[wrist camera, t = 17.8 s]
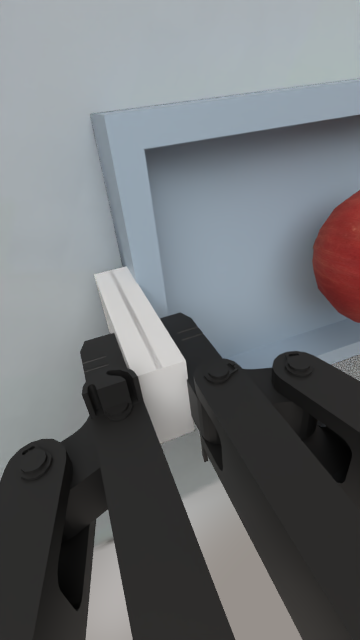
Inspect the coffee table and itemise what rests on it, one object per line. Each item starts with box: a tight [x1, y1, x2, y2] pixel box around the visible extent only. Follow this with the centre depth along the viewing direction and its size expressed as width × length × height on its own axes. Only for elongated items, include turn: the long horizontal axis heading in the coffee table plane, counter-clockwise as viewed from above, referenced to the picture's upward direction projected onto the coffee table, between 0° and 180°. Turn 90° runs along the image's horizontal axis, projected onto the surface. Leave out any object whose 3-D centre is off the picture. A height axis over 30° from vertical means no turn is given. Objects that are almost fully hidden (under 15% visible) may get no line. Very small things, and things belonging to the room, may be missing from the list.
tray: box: [90, 79, 360, 369], centre depth 16 cm, size 16×13×3 cm
